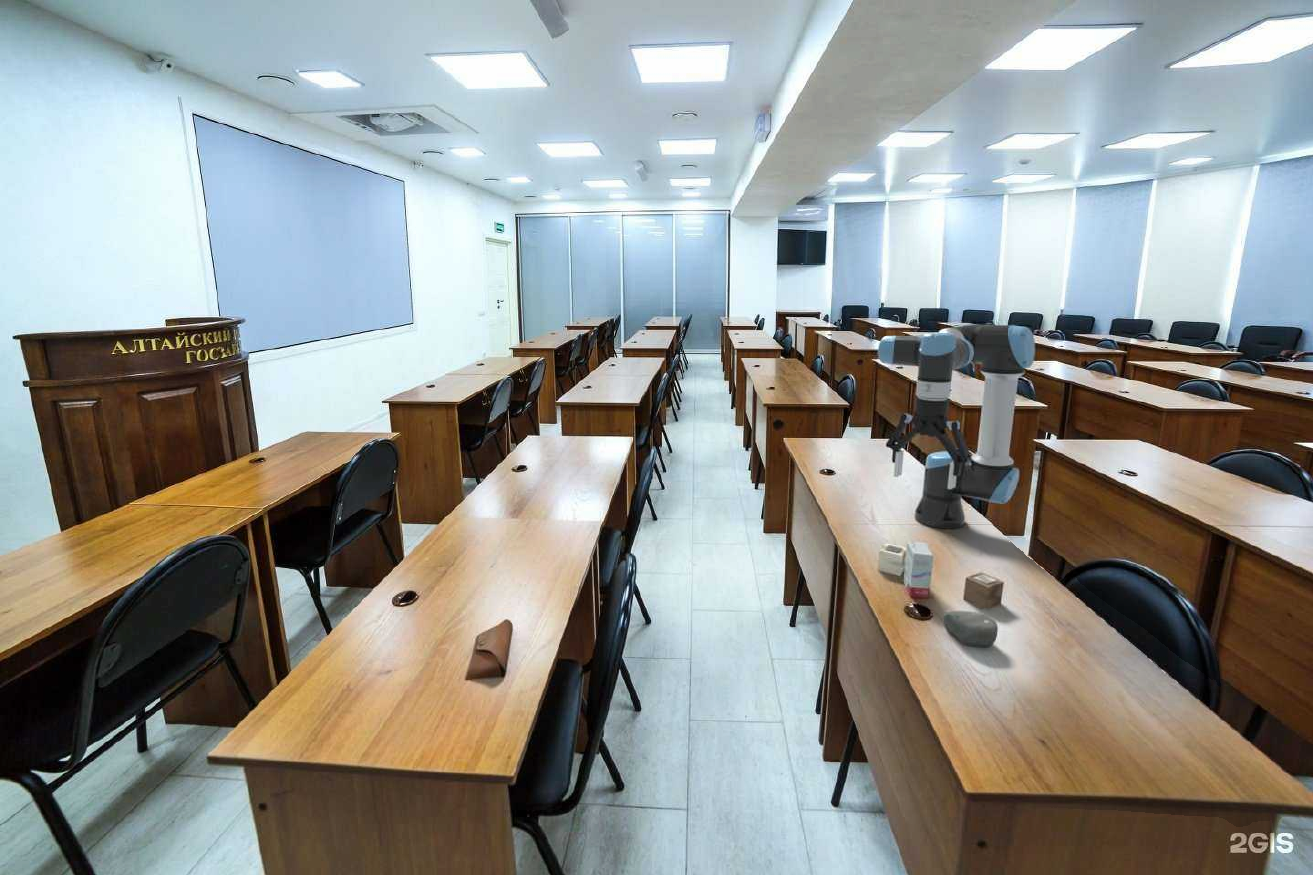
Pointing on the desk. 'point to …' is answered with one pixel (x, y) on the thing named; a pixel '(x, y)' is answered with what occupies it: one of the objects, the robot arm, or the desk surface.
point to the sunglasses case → (491, 652)
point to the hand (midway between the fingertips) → (923, 481)
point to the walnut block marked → (983, 590)
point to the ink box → (918, 569)
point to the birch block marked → (892, 559)
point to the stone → (971, 627)
